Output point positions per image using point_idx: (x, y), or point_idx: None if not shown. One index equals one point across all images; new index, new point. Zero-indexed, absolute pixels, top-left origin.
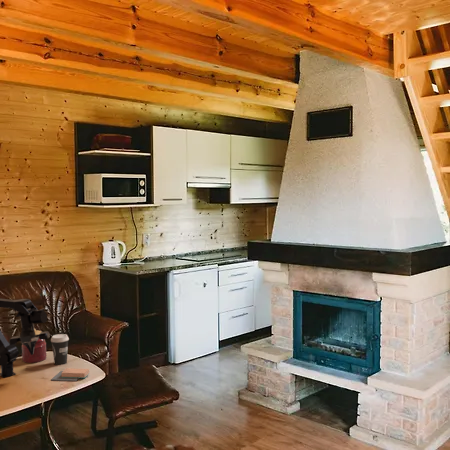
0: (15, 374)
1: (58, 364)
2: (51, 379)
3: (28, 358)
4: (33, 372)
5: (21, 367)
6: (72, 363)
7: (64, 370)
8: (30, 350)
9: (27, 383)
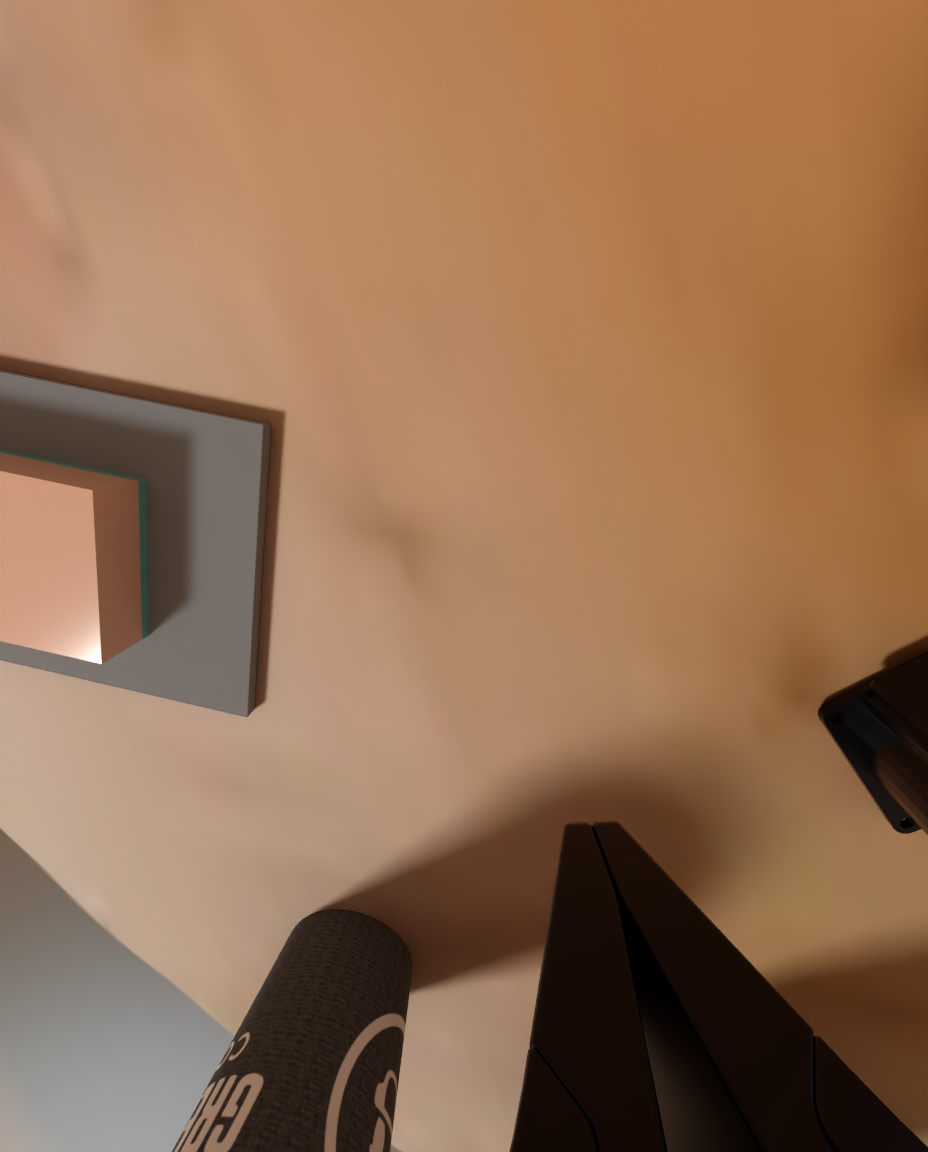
0: (823, 706)
1: (352, 916)
2: (257, 424)
3: None
4: (588, 751)
5: (772, 928)
6: (223, 921)
7: (89, 580)
8: (668, 953)
9: (583, 340)
